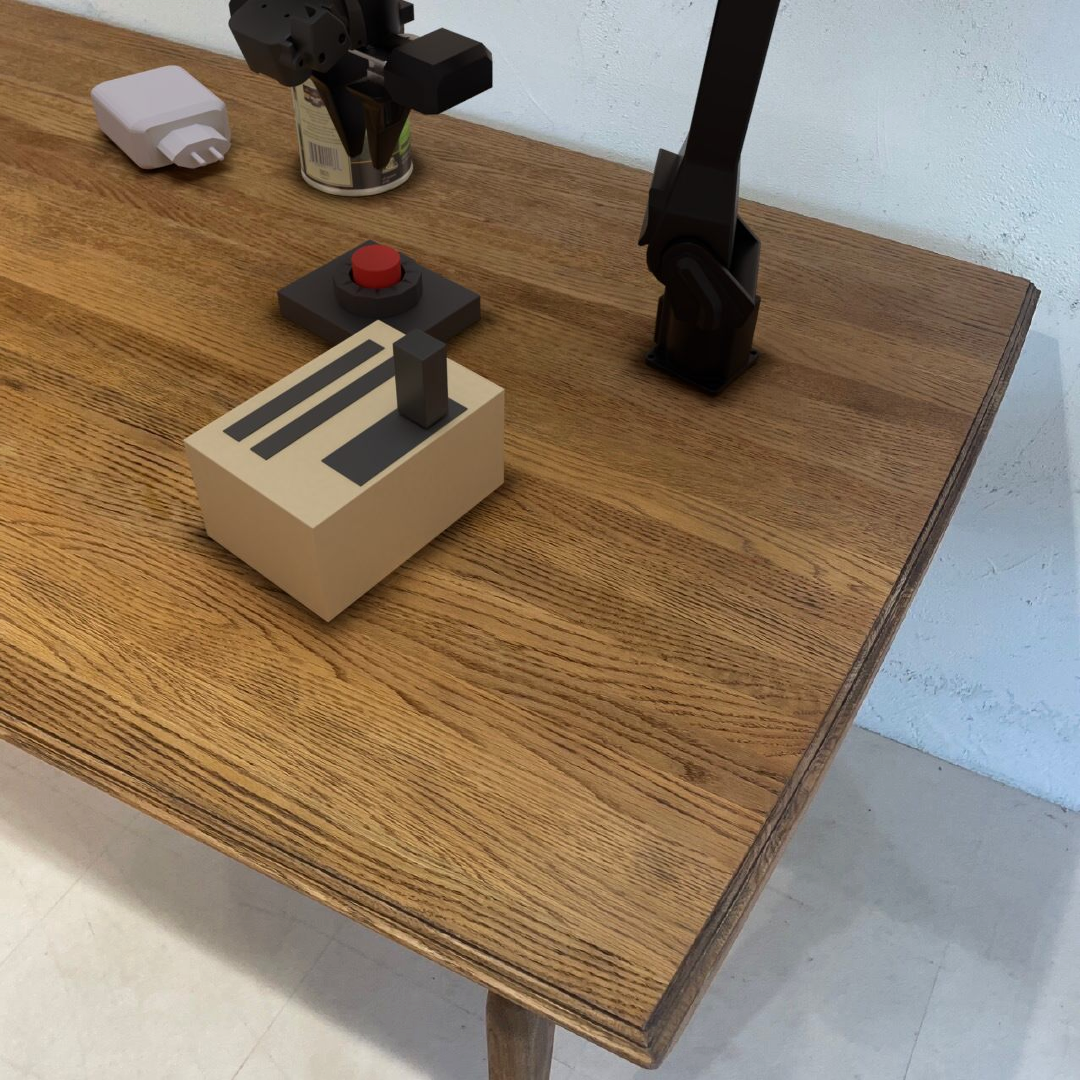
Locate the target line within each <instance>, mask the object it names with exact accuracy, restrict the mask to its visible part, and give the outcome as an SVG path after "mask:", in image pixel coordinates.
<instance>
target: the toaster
mask: <svg viewBox="0 0 1080 1080" xmlns="http://www.w3.org/2000/svg"><path fill="white" fill-rule="evenodd" d="M403 336H405V334H403V333H401V332H400V331H398V330H396V329H394V328H392V327H391V326H389V325H387V324H385V323H383V322H381V321H380V320H377V321H375V322H374V323H372V324H370V325H369V326H367V327H366V328H364V329H362V330H361V331H359V332H357V333H356V334H354V335H353V336H351V337H349V338H348V339H346V340H344V341H343V342H341V343H340V344H338V345H336V346H333V347H331V348H330V349H328V350H327V351H325V352H323V353H322V354H319V356H316V357H315V358H313V359H312V360H310V361H308V362H307V363H305V364H304V365H302V366H301V367H299V368H297V369H295V370H294V371H292V372H291V373H289V374H288V375H285V376H283V378H281V379H280V380H278V381H276V382H274V383H273V384H271V385H270V386H268V387H267V388H265V389H263V390H262V391H259V393H257V394H255V395H253V396H252V397H250V398H248V399H247V400H245V401H244V402H241V404H238V405H237V406H236V407H234V408H233V409H231V410H229V411H228V412H225V414H224V413H223V415H221V416H220V417H218V418H216V419H215V420H213V421H211V422H209V423H208V424H207V425H205V426H203V427H202V428H200V429H199V430H197V431H195V432H193V433H192V434H190V435H189V436H187V437H186V438H183V440H182V441H183V442H182V443H183V446H184V449H185V455H186V457H187V461H188V465H189V468H190V473H191V476H192V481H193V484H194V488H195V492H196V496H197V500H198V505H199V507H200V508H199V509H200V512H201V516H202V519H203V523H204V527H205V531H206V535H207V536H208V537H210V538H211V539H212V540H213V541H215V543H218V544H219V545H221V546H222V547H223V548H225V549H226V550H227V551H229V553H231V554H233V555H234V556H235V557H236V558H238V559H239V560H241V561H243V562H244V563H245V564H247V565H248V566H249V567H251V568H252V569H254V570H255V571H256V572H257V573H259V574H260V575H262V576H263V577H264V578H266V579H267V580H269V581H270V582H271V583H273V584H274V585H275V586H277V587H278V588H280V589H281V590H283V591H284V592H285V593H286V594H287V595H289V596H291V597H292V598H293V599H294V600H296V601H297V602H299V603H301V604H302V605H303V606H305V607H306V608H307V609H308V610H310V611H311V612H313V613H314V614H316V615H317V616H318V617H319V618H321V619H322V620H324V621H325V622H326V623H330V622H331V621H332V620H334V619H335V618H336V617H337V616H338V615H340V614H341V613H342V612H343V611H345V610H346V609H347V608H348V607H350V606H351V605H352V604H354V603H355V602H356V601H357V600H358V599H360V598H361V597H362V596H364V595H365V594H366V593H368V592H369V591H370V590H371V589H373V588H374V587H375V586H376V585H378V584H379V583H380V582H382V580H383V579H385V578H386V577H388V576H389V575H390V574H391V573H392V572H394V571H395V570H396V569H397V568H399V567H401V565H402V564H404V563H405V562H406V561H407V560H409V559H410V558H411V557H413V556H414V555H415V554H416V553H418V552H419V551H420V550H422V549H423V548H425V546H426V545H428V544H429V543H430V542H432V540H434V539H435V538H436V537H437V536H440V534H441V533H443V532H444V531H445V530H447V529H448V528H449V527H450V526H452V525H453V524H454V523H455V522H456V521H458V520H459V519H461V518H462V517H463V516H464V515H465V514H467V513H468V512H469V511H471V509H473V508H474V507H476V506H477V505H478V504H479V503H481V502H482V501H483V500H484V499H485V498H487V497H488V496H489V495H490V494H492V493H493V492H494V491H496V490H497V489H499V487H501V486H502V485H503V484H504V483H505V478H504V477H505V475H504V474H505V397H506V396H505V394H506V393H505V388H504V387H501V386H499V385H498V384H496V383H494V382H492V381H491V380H489V379H487V378H485V377H483V376H481V375H480V374H477V373H476V372H474V371H473V370H471V369H469V368H468V367H465V366H464V365H461V364H460V363H458V362H456V361H454V360H452V359H451V358H448V357H447V376H448V404H449V412H448V413H447V414H445V415H444V416H443V417H441V418H440V419H438V420H437V421H436V422H434V423H433V424H431V425H430V426H429V427H427V428H425V427H424V426H422V425H420V424H419V423H417V422H415V421H414V420H412V419H410V418H408V417H407V416H405V415H403V414H402V413H400V412H398V409H397V397H396V384H395V371H394V358H393V345H392V344H393V343H394V342H395V341H397V340H399V339H400V338H402V337H403Z"/></svg>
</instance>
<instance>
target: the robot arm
mask: <svg viewBox="0 0 1080 1080" xmlns="http://www.w3.org/2000/svg"><path fill="white" fill-rule="evenodd" d="M780 4H781V0H717V2H716V6H715V10H714V16H713V21H712V25H711V28H710V29H711V30H710V34H709V38H708V43H707V47H706V53H705V55H704V56H705V57H704V61H703V66H702V70H701V75H700V78H699V79H700V80H699V84H698V89H697V94H696V98H695V103H694V107H693V112H692V115H691V120H690V125H689V130H688V132H687V134H686V137H685V139H684V141H683V143H682V145H681V147H680V149H679V151H678V153H675V152H672V151H670V150H667V149H664V148H662V147H661V148H659V149H658V153H657V155H656V162H655V165H654V168H653V173H652V177H651V181H650V185H649V189H648V200H647V203H646V208H645V212H644V216H643V220H642V223H641V228H640V232H639V237H638V240H637V246H639V247H645V246H647V248H646V253H645V255H646V256H645V262H646V266H647V270H648V271H649V273H651V274H652V275H653V277H654V278H655V279H656V281H658V282H659V283H660V284H662V285H663V286H664V292H663V294H661V295H660V296H659V297H658V298H657V299H658V300H657V307H656V314H655V324H654V331H653V337H652V338H653V343H654V344H656V345H655V346H654V347H653V348H652V349H650V350H649V351H648V352H647V353H645V355H644V363H645V364H646V365H648V366H651V367H652V368H654V369H656V370H658V371H660V372H662V373H664V374H666V375H668V376H670V377H672V378H674V379H675V380H678V381H680V382H682V383H684V384H686V385H688V386H690V387H692V388H694V389H696V390H698V391H700V392H702V393H703V394H706V395H708V396H710V397H715V396H718V395H720V393H722V392H723V391H724V390H725V389H726V388H728V387H729V386H731V384H732V383H733V382H734V381H736V380H737V379H738V378H740V376H741V375H743V374H744V373H745V372H746V371H747V370H748V369H750V367H752V366H753V365H754V364H755V363H756V362H757V361H759V359H760V355H761V353H760V351H759V350H758V349H756V348H753V347H752V346H753V341H754V336H755V331H756V327H757V322H758V318H759V317H758V316H759V311H760V306H761V302H762V297H761V296H760V295H758V294H757V289H758V277H759V267H760V258H761V247H762V241H761V239H760V238H759V237H758V236H757V234H756V233H755V232H754V231H753V230H752V228H751V227H750V225H748V224H747V222H745V220H744V219H743V218H742V217H741V216H740V214H739V213H738V211H739V197H740V196H739V195H740V183H741V164H742V162H741V160H742V151H743V148H744V145H745V141H746V137H747V132H748V130H749V129H748V128H749V124H750V121H751V117H752V113H753V109H754V105H755V102H756V97H757V93H758V89H759V85H760V81H761V78H762V73H763V70H764V66H765V63H766V58H767V55H768V51H769V48H770V44H771V39H772V35H773V32H774V27H775V24H776V19H777V17H778V12H779V7H780ZM228 8H229V9H228V10H229V15H230V17H229V19H228V22H227V24H228V25H227V26H228V28H229V31H230V32H231V34H232V36H233V38H234V40H235V42H236V44H237V46H238V49H239V50H240V52H241V54H242V56H243V59H244V60H245V62H246V64H247V66H248V68H249V70H250V71H251V72H253V73H255V74H257V75H259V74H261V75H264V76H266V77H268V78H271V79H273V80H275V81H277V83H279V84H280V86H281V85H282V86H284V87H287V88H291V87H296V86H299V85H301V84H303V83H304V82H305V81H307V80H308V79H311V81H312V82H313V83H314V85H315V87H316V89H317V91H318V93H319V95H320V97H321V99H322V101H323V103H324V105H325V107H326V109H327V111H328V113H329V116H330V118H331V120H332V122H333V125H334V127H335V129H336V131H337V133H338V136H339V138H340V140H341V142H342V145H343V147H344V149H345V151H346V153H347V155H348V156H349V157H351V158H355V157H357V156H359V155H360V154H362V151H363V146H364V140H365V133H366V131H367V138H368V145H369V152H370V156H371V160H372V164H373V168H374V169H376V170H380V169H382V168H384V167H386V166H387V165H388V164H389V161H390V159H391V156H392V154H393V152H394V149H395V147H396V145H397V142H398V140H399V137H400V135H401V133H402V130H403V128H404V125H405V123H406V121H407V118H408V116H409V117H410V114H411V112H412V110H413V111H415V112H416V113H419V114H421V115H424V116H437V115H440V114H443V113H444V112H446V111H449V110H450V109H452V108H454V107H456V106H458V105H460V104H462V103H464V102H466V101H468V100H470V99H472V98H474V97H476V96H478V95H480V94H483V93H484V92H487V91H489V90H491V89H492V88H494V86H493V85H494V76H493V75H494V73H493V72H494V70H493V69H494V65H493V63H494V61H493V53H492V52H491V50H490V49H488V47H487V46H486V45H485V44H484V43H483V42H481V41H478V40H477V39H473V38H471V37H468V36H466V35H463V34H461V33H457V32H455V31H452V30H450V29H447V28H445V27H439V28H437V29H435V30H432V31H430V32H428V33H426V34H424V35H421V36H419V35H417V34H414V33H405V32H404V33H405V34H399V32H400V26H402V25H404V26H405V25H406V24H408V23H411V22H413V21H415V5H414V3H412V2H410V1H407V0H229V2H228Z"/></svg>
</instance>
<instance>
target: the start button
mask: <svg viewBox="0 0 1080 1080" xmlns="http://www.w3.org/2000/svg"><path fill="white" fill-rule="evenodd" d="M397 251H398V250H397V249H395V248H394V247H392V246H388V245H384V244H380V245H369V246H365V247H362V248H360V249H358V250H357V251H355V252H354V254H353V255H352V269H353V278H354V281H355V283H356V284H357V285H359V286H361V287H364V288H372V289H381V288H387V287H392V286H393V285H395V284H397V283H398V282H399V281H400V280H401V263H400V255H399V253H398V252H397Z"/></svg>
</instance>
